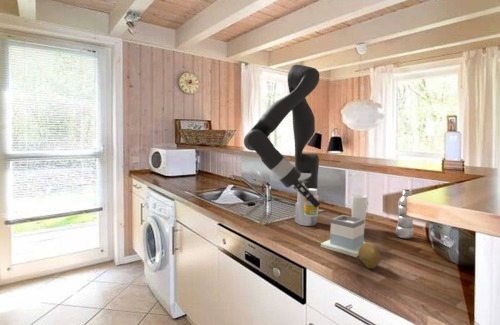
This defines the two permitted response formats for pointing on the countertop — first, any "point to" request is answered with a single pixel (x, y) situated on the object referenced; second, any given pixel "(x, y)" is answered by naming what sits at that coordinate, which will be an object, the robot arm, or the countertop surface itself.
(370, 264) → the potato
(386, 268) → the countertop surface
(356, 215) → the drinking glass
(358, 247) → the brick tower
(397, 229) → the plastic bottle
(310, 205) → the supplement bottle
